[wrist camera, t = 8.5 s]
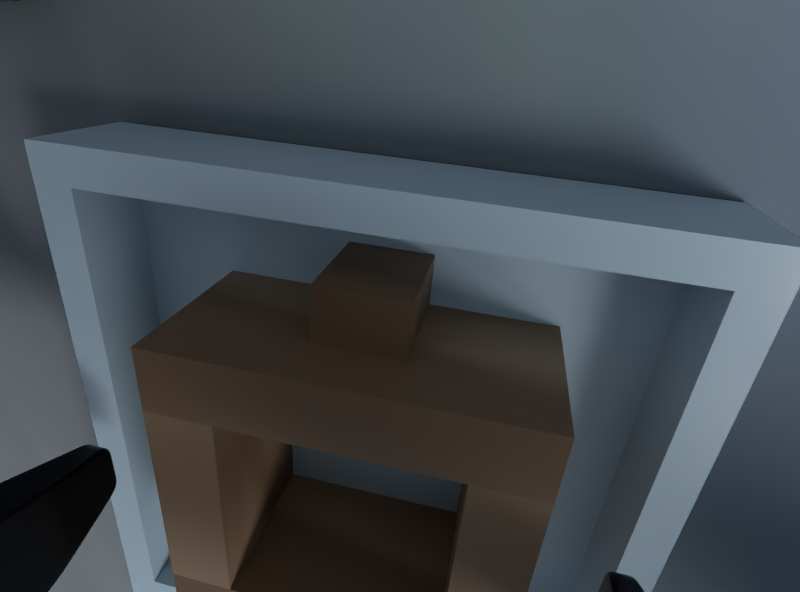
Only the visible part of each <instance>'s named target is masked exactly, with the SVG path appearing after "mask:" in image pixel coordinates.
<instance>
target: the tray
mask: <svg viewBox="0 0 800 592" xmlns="http://www.w3.org/2000/svg"><path fill="white" fill-rule="evenodd" d="M23 140H24V144H25V148H26V153H27V157H28V161H29V165H30V169H31V173H32V177H33V181H34V185H35V189H36V194H37V198H38V202H39V206H40V210H41V214H42V218H43V222H44V226H45V230H46V234H47V239H48V243H49V247H50V251H51V255H52V259H53V263H54V267H55V271H56V275H57V279H58V284H59V288H60V292H61V296H62V300H63V304H64V308H65V312H66V316H67V320H68V325H69V329H70V333H71V337H72V341H73V345H74V349H75V353H76V357H77V361H78V365H79V370H80V374H81V378H82V382H83V386H84V390H85V394H86V398H87V402H88V406H89V410H90V415H91V419H92V423H93V427H94V431H95V435H96V439H97V443H98V446H99V447H103V448H106V449H108V450H109V451H110V453H111V457H112V461H113V465H114V470H115V474H116V479H117V483H116V487H115V490H114V492H113V494H112V496H111V501H112V505H113V509H114V513H115V517H116V521H117V525H118V529H119V533H120V537H121V542H122V546H123V550H124V554H125V558H126V562H127V566H128V570H129V574H130V578H131V582H132V587H133V591H134V592H176V587H175V581H174V576H173V571H172V565H171V560H170V555H169V549H168V544H167V539H166V533H165V528H164V522H163V517H162V512H161V506H160V501H159V496H158V490H157V485H156V480H155V474H154V469H153V463H152V458H151V453H150V447H149V442H148V437H147V431H146V426H145V421H144V415H143V410H142V405H141V399H140V394H139V388H138V383H137V378H136V372H135V367H134V362H133V356H132V351H131V347H132V346H133V345H135V344H136V343H137V342H139V341H140V340H141V339H143V338H144V337H145V336H146V335H148V334H149V333H150V332H152V331H153V330H154V329H156V328H157V327H158V326H160V325H161V324H162V323H164V322H165V321H166V320H168V319H169V318H170V317H172V316H173V315H174V314H176V313H177V312H178V311H180V310H181V309H182V308H184V307H185V306H186V305H188V304H189V303H190V302H192V301H193V300H194V299H196V298H197V297H198V296H200V295H201V294H202V293H204V292H205V291H206V290H207V289H209V288H210V287H211V286H213V285H214V284H215V283H217V282H218V281H219V280H221V279H222V278H223V277H225V276H226V275H227V274H229V273H230V272H231V271H233V270H234V271H239V272H245V273H251V274H257V275H263V276H268V277H274V278H280V279H286V280H292V281H297V282H303V283H309V284H311V283H312V282H313V281H314V280H315V279H316V278H317V276H318V275H319V274H320V273H321V272H322V271H323V270H324V269H325V268H326V267H327V266H328V264H329V263H330V262H331V261H332V260H333V259H334V258H335V257H336V256H337V255H338V254H339V252H340V251H341V250H342V249H343V248H344V247H345V246H346V245H347V244H348V243H349V241H350V242H356V243H363V244H369V245H375V246H382V247H388V248H395V249H401V250H407V251H414V252H420V253H427V254H433V255H435V261H434V269H433V277H432V286H431V294H430V302H429V304H431V305H437V306H443V307H448V308H454V309H460V310H466V311H472V312H477V313H483V314H489V315H495V316H501V317H506V318H512V319H518V320H524V321H530V322H536V323H541V324H547V325H553V326H559V327H560V330H561V338H562V345H563V353H564V361H565V368H566V376H567V383H568V391H569V399H570V406H571V414H572V421H573V429H574V437H575V439H574V442H573V446H572V449H571V452H570V455H569V459H568V462H567V465H566V468H565V472H564V475H563V478H562V481H561V485H560V488H559V491H558V494H557V498H556V501H555V504H554V508H553V511H552V514H551V517H550V521H549V524H548V527H547V530H546V534H545V537H544V540H543V543H542V547H541V550H540V553H539V556H538V560H537V563H536V566H535V569H534V573H533V576H532V579H531V582H530V586H529V589H528V592H598V591H599V588H600V586H601V584H602V581H603V579H604V576H605V575H606V573H607V572H609V571H613V572H617V573H621V574H625V575H629V576H632V577H633V578H635V579H636V580H637V581H638V583H639V584H640V586H641V587H642V589H643V590H644V592H652V590H653V588H654V586H655V584H656V582H657V580H658V578H659V576H660V574H661V572H662V570H663V568H664V566H665V563H666V561H667V559H668V557H669V555H670V553H671V551H672V549H673V547H674V545H675V543H676V541H677V539H678V537H679V535H680V533H681V530H682V528H683V526H684V524H685V522H686V520H687V518H688V516H689V514H690V512H691V510H692V508H693V506H694V504H695V502H696V500H697V497H698V495H699V493H700V491H701V489H702V487H703V485H704V483H705V481H706V479H707V477H708V475H709V473H710V471H711V469H712V467H713V464H714V462H715V460H716V458H717V456H718V454H719V452H720V450H721V448H722V446H723V444H724V442H725V440H726V438H727V436H728V433H729V431H730V429H731V427H732V425H733V423H734V421H735V419H736V417H737V415H738V413H739V411H740V409H741V407H742V405H743V403H744V400H745V398H746V396H747V394H748V392H749V390H750V388H751V386H752V384H753V382H754V380H755V378H756V376H757V374H758V372H759V370H760V367H761V365H762V363H763V361H764V359H765V357H766V355H767V353H768V351H769V349H770V347H771V345H772V343H773V341H774V339H775V337H776V334H777V332H778V330H779V328H780V326H781V324H782V322H783V320H784V318H785V316H786V314H787V312H788V310H789V308H790V306H791V303H792V301H793V299H794V297H795V295H796V293H797V291H798V289H799V287H800V238H799V237H798V236H796V235H795V234H793V233H792V232H790V231H789V230H787V229H786V228H784V227H783V226H781V225H780V224H778V223H777V222H775V221H774V220H773V219H771V218H770V217H768V216H767V215H765V214H764V213H762V212H761V211H759V210H758V209H756V208H755V207H753V206H752V205H750V204H749V203H745V202H737V201H729V200H722V199H714V198H706V197H699V196H691V195H683V194H675V193H668V192H660V191H652V190H644V189H637V188H629V187H621V186H613V185H606V184H598V183H590V182H583V181H575V180H567V179H559V178H552V177H544V176H536V175H528V174H521V173H513V172H505V171H497V170H490V169H482V168H474V167H467V166H459V165H451V164H443V163H436V162H428V161H420V160H412V159H405V158H397V157H389V156H381V155H374V154H366V153H358V152H351V151H343V150H335V149H327V148H320V147H312V146H304V145H296V144H289V143H281V142H273V141H265V140H258V139H250V138H242V137H235V136H227V135H219V134H211V133H204V132H196V131H188V130H180V129H173V128H165V127H157V126H149V125H142V124H134V123H126V122H116V123H110V124H105V125H99V126H93V127H87V128H82V129H76V130H70V131H65V132H59V133H53V134H48V135H42V136H36V137H30V138H25V139H23ZM292 449H293V474H295V475H299V476H303V477H307V478H312V479H316V480H320V481H324V482H329V483H333V484H337V485H341V486H346V487H350V488H354V489H358V490H363V491H367V492H371V493H375V494H380V495H384V496H388V497H392V498H397V499H401V500H405V501H409V502H414V503H418V504H422V505H426V506H431V507H435V508H439V509H443V510H447V511H452V512H456V513H457V508H458V502H459V497H460V492H461V486H462V483H458V482H454V481H449V480H445V479H440V478H436V477H432V476H427V475H423V474H418V473H414V472H409V471H405V470H401V469H396V468H392V467H387V466H383V465H378V464H374V463H370V462H365V461H361V460H356V459H352V458H348V457H343V456H339V455H334V454H330V453H325V452H321V451H317V450H312V449H308V448H303V447H299V446H294V445H292Z"/></svg>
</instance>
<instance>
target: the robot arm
mask: <svg viewBox="0 0 800 592" xmlns="http://www.w3.org/2000/svg"><path fill="white" fill-rule="evenodd" d="M116 483H117V479H116V474H115V470H114V465H113V461H112V457H111V453H110V451H109V450H108V449H106V448H103V447H99V446H95V445H84V446H81V447H79V448H77V449H74V450H72V451H70V452H68V453H66V454H63V455H61V456H59V457H57V458H55V459H52V460H50V461H48V462H46V463H43V464H41V465H39V466H37V467H35V468H32V469H30V470H28V471H26V472H24V473H21V474H19V475H17V476H15V477H13V478H10V479H8V480H6V481H4V482H1V483H0V592H48V591H49V590H50V589H51V587H52V586H53V585H54V583H55V582H56V581H57V579H58V578H59V576H60V575H61V574H62V572H63V571H64V569H65V568H66V566H67V565H68V563H69V562H70V560H71V559H72V557H73V556H74V554H75V553H76V551H77V550H78V548H79V546H80V545H81V543H82V542H83V540H84V539H85V537H86V535H87V534H88V532H89V531H90V529H91V527H92V526H93V524H94V523H95V521H96V520H97V518H98V516H99V515H100V513H101V512H102V510H103V508H104V507H105V505H106V504H107V502H108V501H109V499H110V497H111V496H112V494H113V492H114V490H115V487H116ZM598 592H644V590H643V589H642V587H641V586H640V584H639V583H638V581H637V580H636V579H635V578H633V577H632V576H629V575H625V574H621V573H617V572H613V571H609V572H607V573H606V575H605V576H604V579H603V581H602V584H601V586H600V588H599V591H598Z"/></svg>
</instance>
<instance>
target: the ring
mask: <svg viewBox="0 0 800 592" xmlns="http://www.w3.org/2000/svg"><path fill="white" fill-rule="evenodd" d="M434 261H435V255H433V254H427V253H420V252H414V251H407V250H401V249H395V248H388V247H382V246H375V245H369V244H363V243H356V242H350V241H349V243H348V244H347V245H346V246H345V247H344V248H343V249H342V250H341V251H340V252H339V254H338V255H337V256H336V257H335V258H334V259H333V260H332V261H331V262H330V263H329V264H328V266H327V267H326V268H325V269H324V270H323V271H322V272H321V273H320V274H319V275H318V276H317V278H316V279H315V280H314V281H313V282H312V283H311V284H309V283H303V282H297V281H292V280H286V279H280V278H274V277H268V276H263V275H257V274H251V273H245V272H239V271H234V270H233V271H231V272H230V273H229V274H227V275H226V276H225V277H223V278H222V279H221V280H219V281H218V282H217V283H215V284H214V285H213V286H211V287H210V288H209V289H207V290H206V291H205V292H204V293H202V294H201V295H200V296H198V297H197V298H196V299H194V300H193V301H192V302H190V303H189V304H188V305H186V306H185V307H184V308H182V309H181V310H180V311H178V312H177V313H176V314H174V315H173V316H172V317H170V318H169V319H168V320H166V321H165V322H164V323H162V324H161V325H160V326H158V327H157V328H156V329H154V330H153V331H152V332H150V333H149V334H148V335H146V336H145V337H144V338H143V339H141V340H140V341H139V342H137V343H136V344H135V345H133V346H132V347H131V351H132V356H133V362H134V367H135V372H136V378H137V383H138V388H139V394H140V399H141V405H142V410H143V415H144V421H145V426H146V431H147V437H148V442H149V447H150V453H151V458H152V463H153V469H154V474H155V480H156V485H157V490H158V496H159V501H160V506H161V512H162V517H163V522H164V528H165V533H166V539H167V544H168V549H169V555H170V560H171V565H172V571H173V576H174V581H175V587H176V592H528V589H529V586H530V582H531V579H532V576H533V573H534V569H535V566H536V563H537V560H538V556H539V553H540V550H541V547H542V543H543V540H544V537H545V534H546V530H547V527H548V524H549V521H550V517H551V514H552V511H553V508H554V504H555V501H556V498H557V494H558V491H559V488H560V485H561V481H562V478H563V475H564V472H565V468H566V465H567V462H568V459H569V455H570V452H571V449H572V446H573V442H574V439H575V437H574V429H573V421H572V414H571V406H570V399H569V391H568V383H567V376H566V368H565V361H564V353H563V345H562V338H561V330H560V327H559V326H553V325H547V324H541V323H536V322H530V321H524V320H518V319H512V318H506V317H501V316H495V315H489V314H483V313H477V312H472V311H466V310H460V309H454V308H448V307H443V306H437V305H431V304H429V302H430V294H431V286H432V277H433V269H434ZM292 445H294V446H299V447H303V448H308V449H312V450H317V451H321V452H325V453H330V454H334V455H339V456H343V457H348V458H352V459H356V460H361V461H365V462H370V463H374V464H378V465H383V466H387V467H392V468H396V469H401V470H405V471H409V472H414V473H418V474H423V475H427V476H432V477H436V478H440V479H445V480H449V481H454V482H458V483H462V486H461V492H460V497H459V502H458V508H457V513H456V512H452V511H447V510H443V509H439V508H435V507H431V506H426V505H422V504H418V503H414V502H409V501H405V500H401V499H397V498H392V497H388V496H384V495H380V494H375V493H371V492H367V491H363V490H358V489H354V488H350V487H346V486H341V485H337V484H333V483H329V482H324V481H320V480H316V479H312V478H307V477H303V476H299V475H295V474H293V449H292Z"/></svg>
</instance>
